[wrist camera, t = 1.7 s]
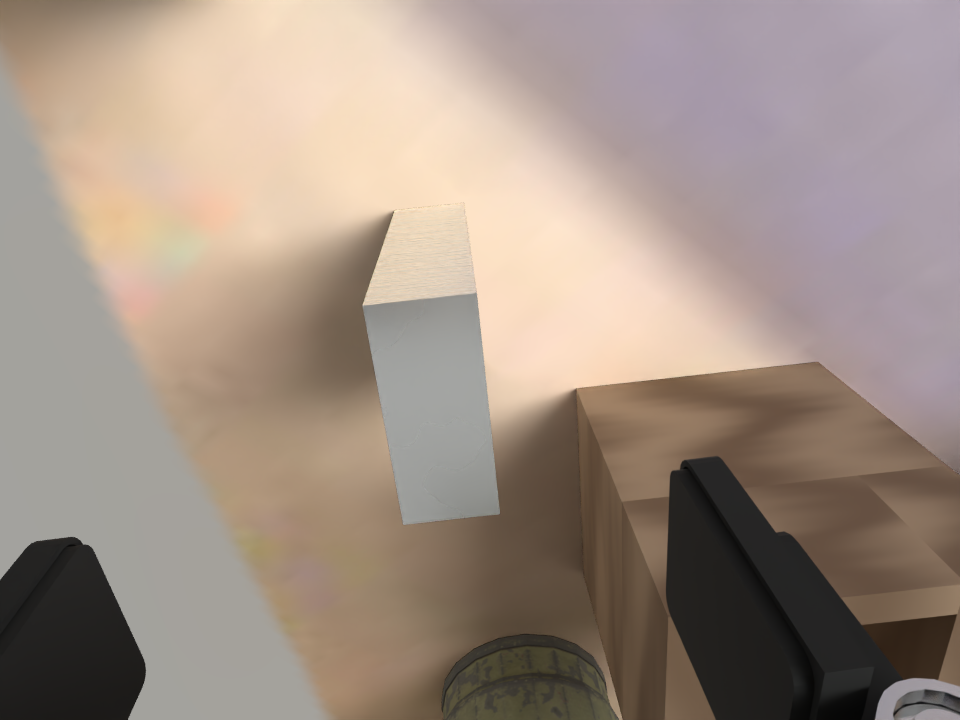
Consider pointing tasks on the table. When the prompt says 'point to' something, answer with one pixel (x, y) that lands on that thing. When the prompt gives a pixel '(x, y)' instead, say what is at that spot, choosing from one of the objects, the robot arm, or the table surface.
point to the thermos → (526, 682)
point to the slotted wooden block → (784, 503)
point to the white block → (432, 366)
